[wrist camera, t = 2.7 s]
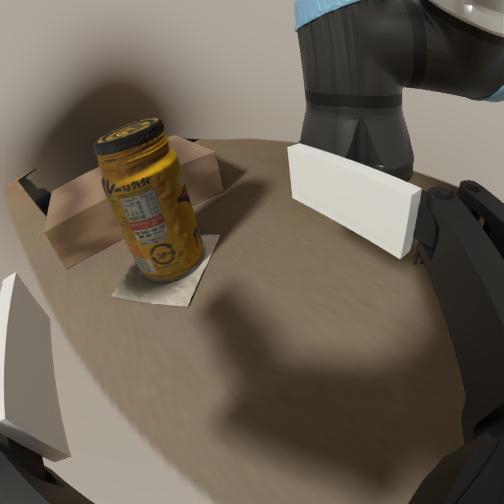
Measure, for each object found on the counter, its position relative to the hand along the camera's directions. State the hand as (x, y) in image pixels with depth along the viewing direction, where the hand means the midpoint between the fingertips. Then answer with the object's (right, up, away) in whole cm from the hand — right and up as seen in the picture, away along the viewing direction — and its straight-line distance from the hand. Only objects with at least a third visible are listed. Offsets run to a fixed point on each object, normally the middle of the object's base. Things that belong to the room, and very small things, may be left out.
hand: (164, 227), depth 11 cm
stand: (-12, +5, +23) cm, 27 cm away
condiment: (-4, -2, +13) cm, 14 cm away
